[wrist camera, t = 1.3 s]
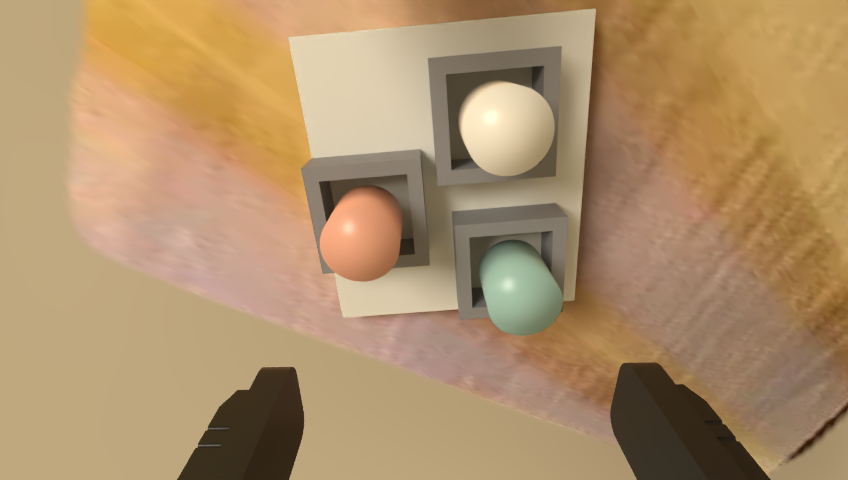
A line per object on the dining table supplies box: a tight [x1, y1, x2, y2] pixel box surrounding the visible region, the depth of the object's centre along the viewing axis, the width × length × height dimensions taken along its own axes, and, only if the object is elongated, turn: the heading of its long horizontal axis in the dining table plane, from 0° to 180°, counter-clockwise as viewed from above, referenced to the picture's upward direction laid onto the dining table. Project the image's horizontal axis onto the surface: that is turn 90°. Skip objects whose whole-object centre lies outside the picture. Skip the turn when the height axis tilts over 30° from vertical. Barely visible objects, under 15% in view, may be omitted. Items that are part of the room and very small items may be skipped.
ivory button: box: [458, 80, 555, 176], centre depth 25 cm, size 5×5×5 cm
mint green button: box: [478, 240, 563, 336], centre depth 29 cm, size 5×5×5 cm
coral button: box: [320, 185, 403, 282], centre depth 27 cm, size 5×5×5 cm
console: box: [288, 9, 596, 320], centre depth 31 cm, size 20×22×5 cm
